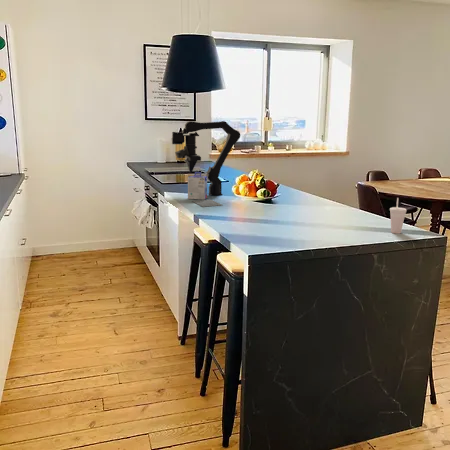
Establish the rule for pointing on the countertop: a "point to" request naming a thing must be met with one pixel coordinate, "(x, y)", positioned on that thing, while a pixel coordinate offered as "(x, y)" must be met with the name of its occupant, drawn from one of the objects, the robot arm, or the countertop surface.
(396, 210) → the smoothie
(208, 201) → the mat
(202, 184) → the ink cartridge box
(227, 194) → the countertop surface
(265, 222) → the countertop surface
